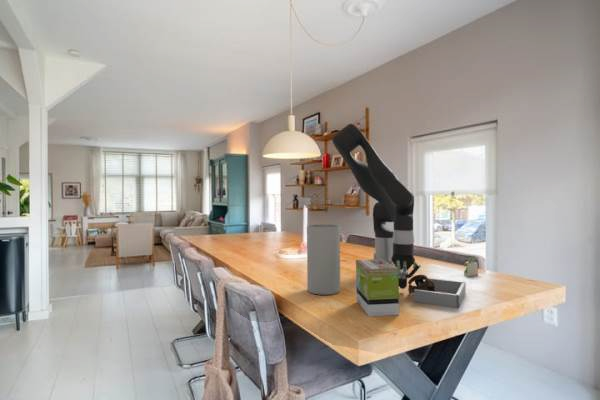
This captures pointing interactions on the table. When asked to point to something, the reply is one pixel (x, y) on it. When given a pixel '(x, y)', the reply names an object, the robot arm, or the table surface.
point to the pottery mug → (421, 284)
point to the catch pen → (439, 297)
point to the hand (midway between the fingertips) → (402, 288)
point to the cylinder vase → (323, 259)
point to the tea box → (377, 287)
